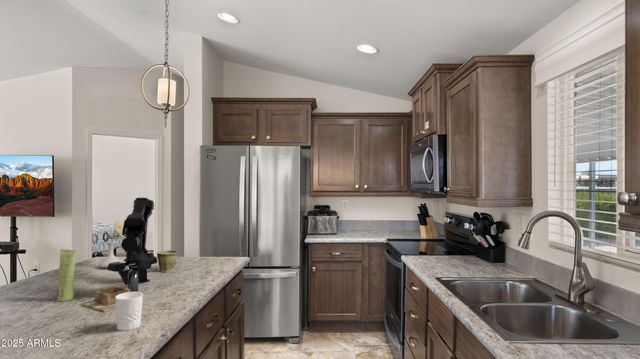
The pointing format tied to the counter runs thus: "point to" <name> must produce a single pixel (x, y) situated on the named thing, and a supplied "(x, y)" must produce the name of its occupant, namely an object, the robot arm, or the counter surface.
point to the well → (106, 298)
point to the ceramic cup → (167, 260)
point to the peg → (133, 280)
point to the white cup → (128, 310)
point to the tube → (66, 275)
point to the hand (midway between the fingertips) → (133, 283)
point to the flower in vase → (112, 246)
